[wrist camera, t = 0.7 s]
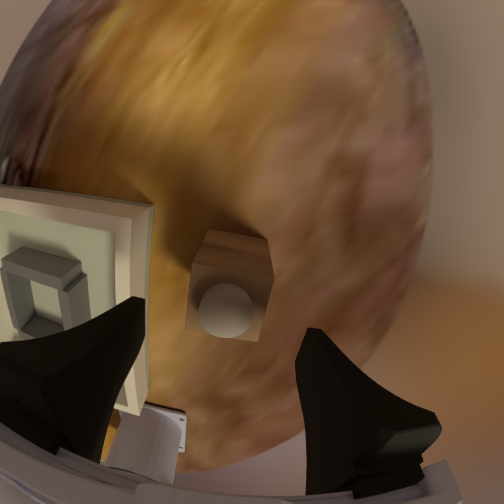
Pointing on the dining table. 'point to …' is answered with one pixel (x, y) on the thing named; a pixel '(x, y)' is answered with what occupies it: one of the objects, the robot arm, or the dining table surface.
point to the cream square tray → (73, 267)
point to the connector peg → (229, 286)
